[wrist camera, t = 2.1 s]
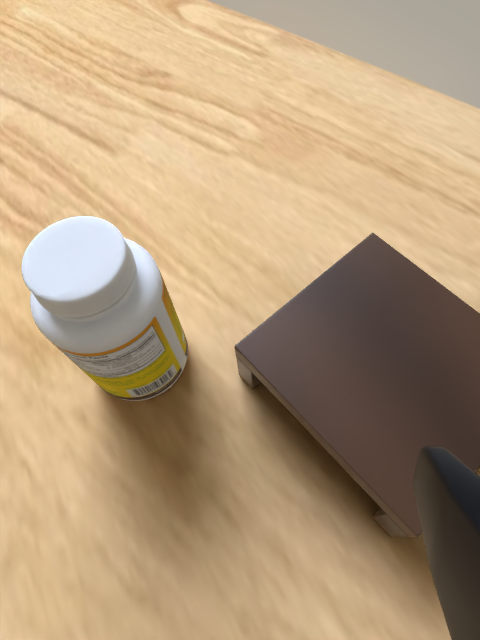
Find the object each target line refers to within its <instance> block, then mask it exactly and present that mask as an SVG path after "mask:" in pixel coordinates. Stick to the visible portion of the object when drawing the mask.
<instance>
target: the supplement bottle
mask: <svg viewBox="0 0 480 640" xmlns="http://www.w3.org/2000/svg"><path fill="white" fill-rule="evenodd" d="M22 276H23V279H24V282H25V284H26V286H27V287H28V288H29V290H30V291H31V297H30V305H31V312H32V315H33V318H34V321H35V323H36V325H37V327H38V328H39V330H40V331H41V332H42V333H43V334H44V336H45V337H46V338H47V339H48V340H50V341H51V342H52V343H53V344H54V345H55V346H56V347H57V348H58V349H59V350H61V351H62V352H63V353H64V354H65V355H66V356H67V357H68V358H69V359H71V360H72V361H73V362H74V363H75V364H76V365H77V366H78V367H79V368H80V369H81V370H83V371H84V372H85V373H86V374H87V375H88V376H89V377H90V378H91V379H92V380H93V381H95V382H96V383H97V384H98V385H99V386H100V387H101V388H102V389H103V390H105V391H106V392H107V393H109V394H111V395H112V396H114V397H117V398H119V399H123V400H128V401H141V400H147V399H150V398H153V397H156V396H158V395H160V394H162V393H163V392H165V391H166V390H168V389H169V388H170V387H171V386H172V385H173V384H174V383H175V382H176V381H177V380H178V378H179V377H180V375H181V373H182V372H183V370H184V367H185V364H186V361H187V355H188V346H187V341H186V337H185V334H184V331H183V329H182V326H181V324H180V322H179V319H178V316H177V314H176V311H175V309H174V306H173V303H172V301H171V298H170V296H169V293H168V291H167V288H166V286H165V283H164V281H163V278H162V275H161V273H160V271H159V268H158V266H157V264H156V262H155V261H154V259H153V258H152V256H151V255H150V254H149V253H148V252H147V251H146V250H145V249H144V248H143V247H141V246H140V245H138V244H137V243H135V242H133V241H131V240H129V239H126V238H124V237H123V235H122V234H121V232H120V231H119V230H118V229H117V228H116V227H115V226H114V225H112V224H111V223H109V222H108V221H106V220H104V219H100V218H97V217H91V216H76V217H70V218H67V219H63V220H60V221H58V222H56V223H54V224H52V225H50V226H48V227H47V228H46V229H44V230H43V231H41V232H40V233H39V234H38V235H37V236H36V237H35V238H34V239H33V240H32V242H31V243H30V244H29V246H28V247H27V249H26V251H25V254H24V257H23V260H22Z"/></svg>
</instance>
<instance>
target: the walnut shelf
mask: <svg viewBox="0 0 480 640" xmlns="http://www.w3.org/2000/svg"><path fill="white" fill-rule="evenodd" d="M235 353H236V357H237V364H238V371H239V375H240V376H241V377H242V378H243V379H244V380H245V381H246V383H247V384H248V385H249V386H250V387H251V388H254V387H255V386H256V385H257V384H258V383H260V382H262V383H263V385H264V386H265V387H266V388H267V389H268V390H269V391H270V392H271V393H272V394H273V395H274V396H275V397H276V398H277V399H278V400H279V401H280V402H281V403H282V404H283V406H284V407H285V408H286V409H287V410H288V411H289V412H290V413H291V414H292V415H293V416H294V417H295V418H296V419H297V420H298V421H299V422H300V423H301V424H302V425H303V427H304V428H305V429H306V430H307V431H308V432H309V433H310V434H311V435H312V436H313V437H314V438H315V439H316V440H317V441H318V442H319V443H320V444H321V445H322V446H323V448H324V449H325V450H326V451H327V452H328V453H329V454H330V455H331V456H332V457H333V458H334V459H335V460H336V461H337V462H338V463H339V464H340V465H341V466H342V467H343V469H344V470H345V471H346V472H347V473H348V474H349V475H350V476H351V477H352V478H353V479H354V480H355V481H356V482H357V483H358V484H359V485H360V486H361V487H362V488H363V490H364V491H365V492H366V493H367V494H368V495H369V496H370V497H371V498H372V499H373V500H374V501H375V502H376V503H377V504H378V505H379V506H380V507H381V508H380V509H379V510H378V511H377V512H376V513H375V514H374V515H373V519H374V520H375V521H376V522H377V523H378V524H379V525H380V526H381V527H382V528H383V529H384V530H385V531H386V533H387V534H388V535H389V536H390V537H418V536H419V535H420V534H421V533H422V528H421V523H420V518H419V513H418V508H417V503H416V498H415V493H414V487H413V477H414V473H415V469H416V465H417V461H418V457H419V453H420V450H421V448H422V447H424V446H440V447H445V448H446V449H448V450H449V451H450V452H452V453H453V454H454V455H455V456H456V457H457V458H459V459H460V460H461V461H462V462H463V463H464V464H466V465H467V466H468V467H469V468H470V469H471V470H473V471H474V472H475V471H476V470H477V469H478V468H479V467H480V313H478V312H477V311H476V310H474V309H473V308H472V307H470V306H469V305H468V304H466V303H465V302H464V301H462V300H461V299H460V298H458V297H457V296H456V295H454V294H453V293H452V292H450V291H449V290H448V289H447V288H445V287H444V286H443V285H441V284H440V283H439V282H437V281H436V280H435V279H433V278H432V277H431V276H429V275H428V274H427V273H425V272H424V271H423V270H421V269H420V268H419V267H418V266H416V265H415V264H414V263H412V262H411V261H410V260H408V259H407V258H406V257H404V256H403V255H402V254H400V253H399V252H398V251H396V250H395V249H394V248H392V247H391V246H390V245H388V244H387V243H386V242H385V241H383V240H382V239H381V238H379V237H378V236H377V235H375V234H374V233H372V234H371V235H369V236H368V237H367V238H366V239H364V240H363V241H362V242H361V243H360V244H358V245H357V246H356V247H355V248H353V249H352V250H351V251H350V252H349V253H347V254H346V255H345V256H344V257H342V258H341V259H340V260H339V261H338V262H336V263H335V264H334V265H333V266H332V267H330V268H329V269H328V270H327V271H325V272H324V273H323V274H322V275H321V276H319V277H318V278H317V279H316V280H314V281H313V282H312V283H311V284H310V285H308V286H307V287H306V288H305V289H303V290H302V291H301V292H300V293H299V294H297V295H296V296H295V297H294V298H293V299H291V300H290V301H289V302H288V303H286V304H285V305H284V306H283V307H282V308H280V309H279V310H278V311H277V312H275V313H274V314H273V315H272V316H271V317H269V318H268V319H267V320H266V321H264V322H263V323H262V324H261V325H260V326H258V327H257V328H256V329H255V330H254V331H252V332H251V333H250V334H249V335H247V336H246V337H245V338H244V339H243V340H241V341H240V342H239V343H238V344H236V345H235Z"/></svg>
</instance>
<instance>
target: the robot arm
mask: <svg viewBox="0 0 480 640" xmlns="http://www.w3.org/2000/svg"><path fill="white" fill-rule="evenodd" d="M413 487H414V493H415V498H416V503H417V508H418V513H419V518H420V523H421V528H422V533H423V538H424V543H425V548H426V553H427V558H428V563H429V567H430V571H431V574H432V578H433V581H434V585H435V588H436V591H437V594H438V597H439V601H440V604H441V607H442V610H443V613H444V616H445V620H446V623H447V626H448V629H449V632H450V636H451V639H452V640H480V476H479V475H477V474H476V473H475V472H474V471H473V470H471V469H470V468H469V467H468V466H467V465H466V464H464V463H463V462H462V461H461V460H460V459H459V458H457V457H456V456H455V455H454V454H453V453H452V452H450V451H449V450H448V449H446V448H445V447H440V446H424V447H422V448H421V450H420V453H419V457H418V461H417V465H416V469H415V473H414V477H413Z"/></svg>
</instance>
